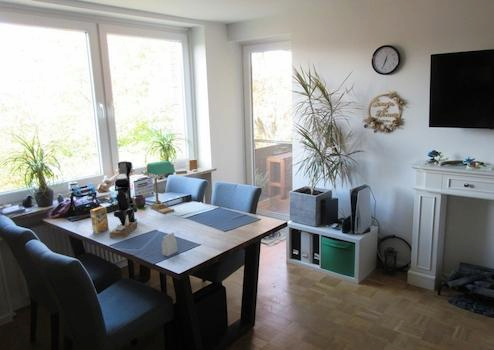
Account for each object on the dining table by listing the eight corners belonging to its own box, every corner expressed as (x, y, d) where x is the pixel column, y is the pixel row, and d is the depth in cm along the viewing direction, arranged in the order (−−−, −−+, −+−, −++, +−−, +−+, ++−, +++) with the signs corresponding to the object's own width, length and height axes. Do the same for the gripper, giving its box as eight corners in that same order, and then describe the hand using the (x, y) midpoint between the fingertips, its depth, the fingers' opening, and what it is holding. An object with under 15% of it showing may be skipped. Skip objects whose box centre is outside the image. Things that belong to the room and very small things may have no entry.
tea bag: (177, 251, 202) (175, 233, 200) (167, 256, 197) (166, 237, 195) (172, 250, 204) (170, 232, 202) (162, 254, 199) (161, 236, 197)
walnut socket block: (123, 228, 242) (122, 222, 241) (137, 228, 241) (136, 222, 240) (110, 239, 224) (109, 232, 224) (125, 239, 223) (124, 232, 223)
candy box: (97, 235, 232) (94, 210, 229) (92, 234, 235) (89, 209, 232) (109, 230, 240) (106, 206, 237) (104, 229, 242) (101, 205, 239)
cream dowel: (125, 228, 238) (124, 214, 236) (130, 228, 238) (128, 214, 236) (123, 230, 236) (121, 216, 233) (128, 230, 235) (126, 216, 233)
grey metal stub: (119, 233, 230) (118, 224, 228) (124, 233, 229) (123, 224, 228) (117, 235, 227) (116, 225, 226) (122, 235, 226) (121, 225, 225)
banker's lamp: (165, 205, 292) (161, 159, 285) (179, 210, 276) (176, 162, 270) (146, 209, 283) (141, 162, 276) (159, 215, 267) (155, 165, 260)
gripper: (117, 194, 243) (120, 218, 246) (103, 202, 225) (106, 228, 228) (134, 194, 242) (137, 218, 245) (122, 202, 224) (125, 228, 227)
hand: (126, 223), depth 236 cm, fingers open, 8 cm apart
